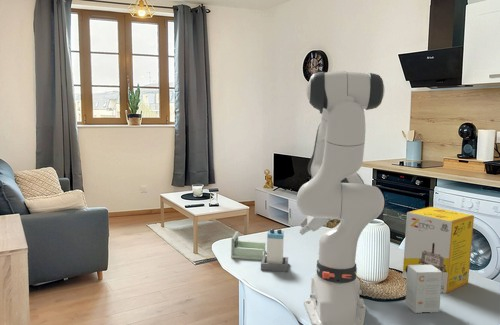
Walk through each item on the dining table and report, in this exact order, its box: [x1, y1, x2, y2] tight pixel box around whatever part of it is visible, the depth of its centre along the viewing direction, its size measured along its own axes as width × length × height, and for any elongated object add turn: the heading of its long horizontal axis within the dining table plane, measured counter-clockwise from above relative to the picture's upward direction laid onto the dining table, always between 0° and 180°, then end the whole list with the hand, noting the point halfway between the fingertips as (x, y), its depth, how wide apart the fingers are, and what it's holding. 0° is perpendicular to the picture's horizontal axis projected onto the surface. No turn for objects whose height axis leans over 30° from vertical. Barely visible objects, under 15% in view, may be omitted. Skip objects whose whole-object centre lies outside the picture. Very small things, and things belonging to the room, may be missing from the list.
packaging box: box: [402, 206, 475, 294], centre depth 147 cm, size 16×16×25 cm
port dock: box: [230, 230, 266, 261], centre depth 171 cm, size 12×13×8 cm
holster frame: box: [260, 255, 289, 273], centre depth 158 cm, size 9×10×2 cm
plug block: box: [266, 228, 285, 264], centre depth 158 cm, size 5×6×15 cm
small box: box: [404, 265, 442, 314], centre depth 126 cm, size 8×6×13 cm
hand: (300, 229), depth 156 cm, fingers open, 8 cm apart
